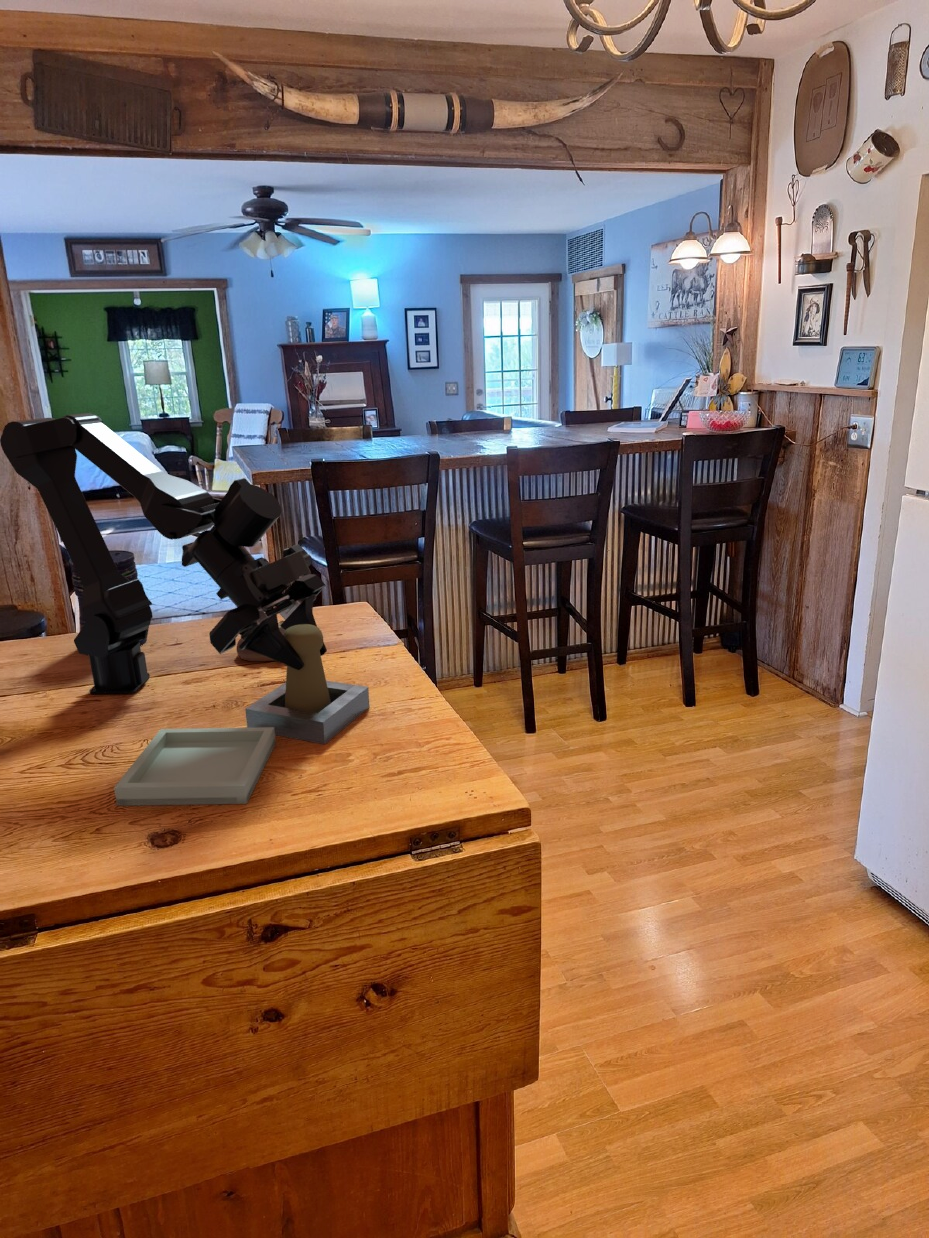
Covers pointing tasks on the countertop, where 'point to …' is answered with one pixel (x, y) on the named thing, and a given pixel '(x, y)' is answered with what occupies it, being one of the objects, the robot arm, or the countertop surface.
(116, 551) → the black cylinder
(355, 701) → the metal collar
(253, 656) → the bread
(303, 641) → the olive pepper mill
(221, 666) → the countertop surface
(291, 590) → the robot arm
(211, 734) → the green tray
